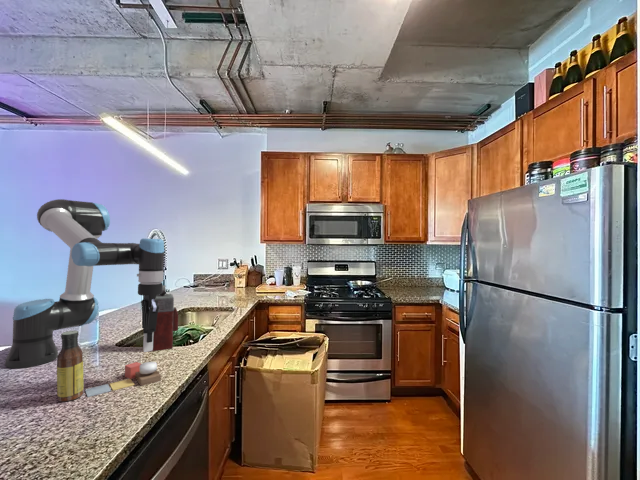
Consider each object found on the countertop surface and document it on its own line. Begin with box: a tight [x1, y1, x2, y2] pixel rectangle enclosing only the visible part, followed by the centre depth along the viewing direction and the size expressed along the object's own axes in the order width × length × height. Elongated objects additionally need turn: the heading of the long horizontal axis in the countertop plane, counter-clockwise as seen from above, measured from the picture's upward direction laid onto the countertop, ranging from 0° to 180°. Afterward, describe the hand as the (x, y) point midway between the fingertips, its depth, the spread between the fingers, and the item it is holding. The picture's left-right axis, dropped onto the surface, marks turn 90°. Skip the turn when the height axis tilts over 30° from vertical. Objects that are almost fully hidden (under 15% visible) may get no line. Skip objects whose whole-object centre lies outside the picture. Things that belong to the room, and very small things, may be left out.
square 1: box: [84, 383, 112, 398], centre depth 98 cm, size 6×6×1 cm
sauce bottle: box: [56, 330, 85, 403], centre depth 94 cm, size 6×6×20 cm
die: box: [124, 361, 142, 380], centre depth 110 cm, size 4×4×4 cm
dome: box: [140, 361, 158, 374], centre depth 107 cm, size 5×5×2 cm
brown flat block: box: [134, 370, 162, 387], centre depth 107 cm, size 8×6×2 cm
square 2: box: [109, 378, 135, 391], centre depth 103 cm, size 6×6×1 cm
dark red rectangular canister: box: [149, 285, 179, 353], centre depth 141 cm, size 9×11×28 cm
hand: (147, 350), depth 107 cm, fingers closed
